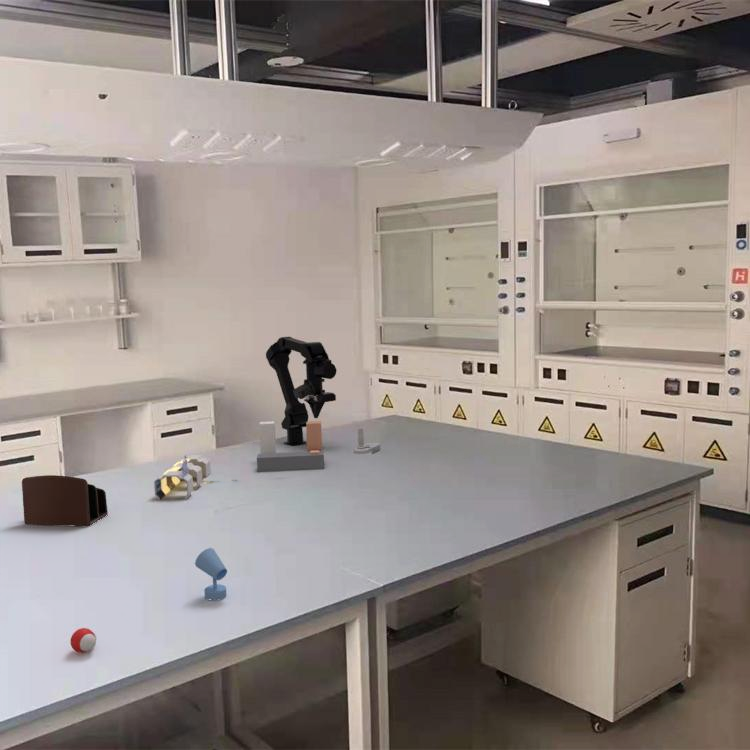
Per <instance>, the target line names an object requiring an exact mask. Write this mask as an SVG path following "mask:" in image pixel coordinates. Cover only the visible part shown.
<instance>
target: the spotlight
mask: <svg viewBox="0 0 750 750" xmlns="http://www.w3.org/2000/svg"><path fill="white" fill-rule="evenodd" d="M194 565H195V567H196V568H198V569H199V570H201V571H202V572H204V573H205V574H207V575H208V576H210V577H211V578H212V584H211V585H209V586H206V587H204V589H203V590H204V592H203V593H204V599H205V598H206V599H205V600H207V599H211V600H215V601H219V600H218V599H220V600H223V599H225V598H226V597H227V586H225V585H224V584H218V582H217V581H221V580H223V579H224V578H225V577H226V575H228V569H227V568H226V566H225V565H224V563H223V562H222V560H221V558H220V557H219V556H218V554H217V552H216V550H215V549H214V548H213V547H209V548H206V549H204V550H203V551H202V552H200V553H199V554H198V555H197V557H196V559H195V563H194ZM224 597H225V598H224ZM222 598H223V599H222ZM211 600H210V601H211Z"/></svg>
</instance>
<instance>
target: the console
mask: <svg viewBox="0 0 750 750" xmlns="http://www.w3.org/2000/svg"><path fill="white" fill-rule="evenodd" d="M256 456H257V457H256V467H257V469H256V470H257V473H266V472H267V473H269V472H287V471H289V472H290V471H305V470H307V471H309V470H310V471H311V470H323V469H324V470H325V452H324V450H322V451H319V450H313V451H290V452H288V451H287V452H276V453H265V454H261V453H258V454H257V455H256Z"/></svg>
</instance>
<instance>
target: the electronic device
mask: <svg viewBox="0 0 750 750" xmlns="http://www.w3.org/2000/svg"><path fill="white" fill-rule="evenodd" d="M357 429H358V430H357V432H358V434H357V435H358V437H357V443H358V444H357V446H356V447H355V448H354V449H353V453H354V454H356V455H361V454H362V455H364V454H368V453H370V452H371V454H374V453H376V452H378V451H380V450H381V443H379V442H368V443H365V439H364V429H363V428H357Z"/></svg>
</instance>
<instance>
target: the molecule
mask: <svg viewBox="0 0 750 750" xmlns="http://www.w3.org/2000/svg"><path fill="white" fill-rule="evenodd" d="M69 642H70V646H71V649H73V650H74V651H75V652H77V653H79V654H80V653H87V652H90V651H91V650H93V649H94V648H95V646H96V644H97V634H96V633H95V632H94V631H92V630H91V629H90V628H86V627H82V628H78V629H76V630H75V631H74V632H73V633H72V635H71V636H70V641H69Z"/></svg>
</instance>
